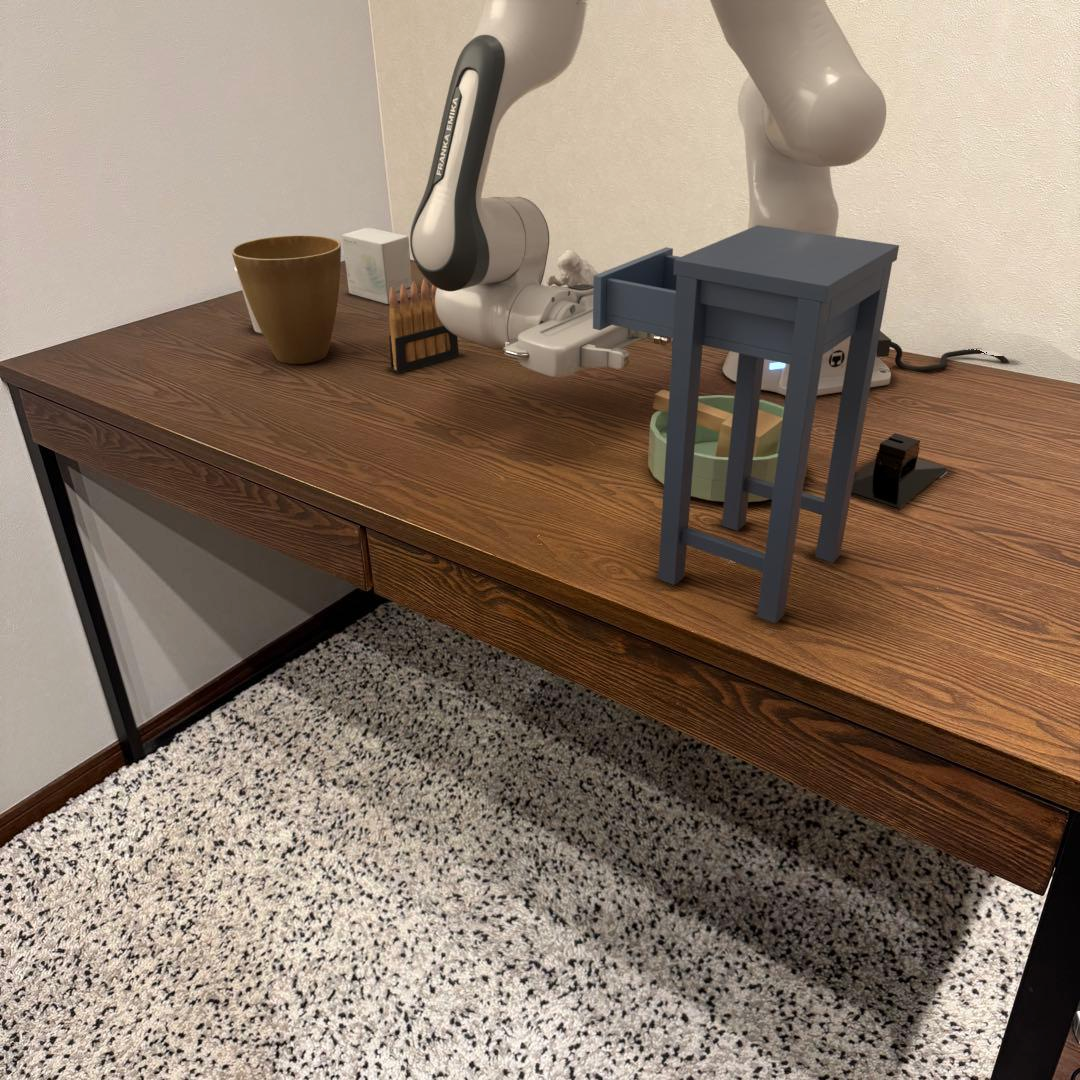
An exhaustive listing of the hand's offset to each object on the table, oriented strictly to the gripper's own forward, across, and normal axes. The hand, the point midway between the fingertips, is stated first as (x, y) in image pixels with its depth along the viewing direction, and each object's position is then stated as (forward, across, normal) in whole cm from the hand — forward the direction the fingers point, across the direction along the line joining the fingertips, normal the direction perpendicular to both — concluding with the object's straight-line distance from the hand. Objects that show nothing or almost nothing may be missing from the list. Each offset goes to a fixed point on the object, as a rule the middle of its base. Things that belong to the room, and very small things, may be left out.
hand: (648, 348), depth 105 cm
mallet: (+8, 0, +11) cm, 14 cm away
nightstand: (+18, -16, +12) cm, 27 cm away
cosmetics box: (-70, +25, +12) cm, 76 cm away
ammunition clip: (-40, +5, +12) cm, 43 cm away
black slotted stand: (+27, +9, +12) cm, 31 cm away
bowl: (+11, 0, +12) cm, 16 cm away
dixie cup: (-72, +2, +12) cm, 73 cm away
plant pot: (-57, -3, +12) cm, 59 cm away
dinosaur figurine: (-28, +29, +12) cm, 42 cm away
